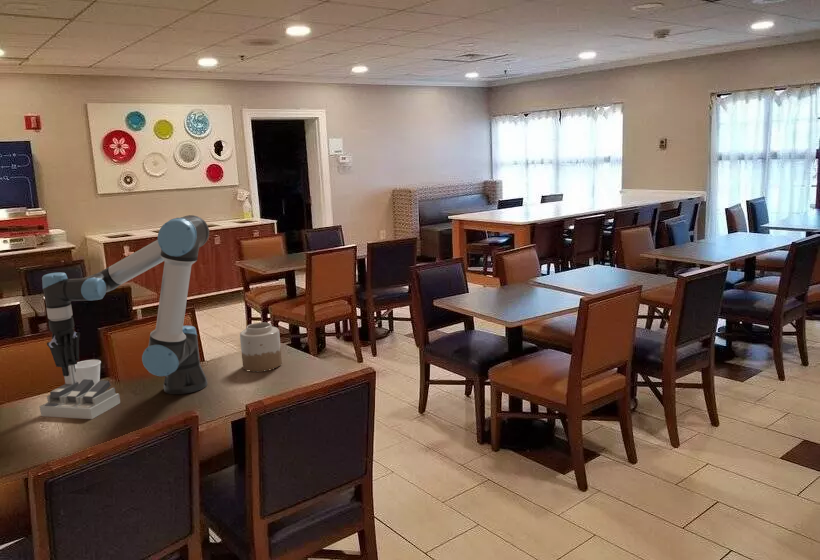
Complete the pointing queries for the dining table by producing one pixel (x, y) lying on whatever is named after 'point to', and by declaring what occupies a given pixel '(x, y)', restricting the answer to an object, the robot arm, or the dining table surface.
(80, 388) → the rocker
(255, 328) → the vase
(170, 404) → the dining table surface
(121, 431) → the dining table surface
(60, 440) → the dining table surface
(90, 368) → the cup
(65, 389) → the rocker
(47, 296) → the robot arm
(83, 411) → the switch unit
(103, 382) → the rocker
